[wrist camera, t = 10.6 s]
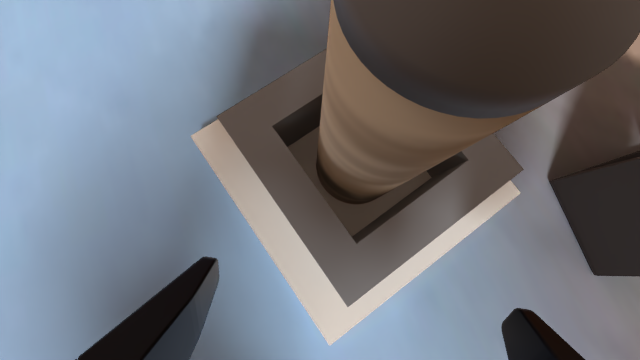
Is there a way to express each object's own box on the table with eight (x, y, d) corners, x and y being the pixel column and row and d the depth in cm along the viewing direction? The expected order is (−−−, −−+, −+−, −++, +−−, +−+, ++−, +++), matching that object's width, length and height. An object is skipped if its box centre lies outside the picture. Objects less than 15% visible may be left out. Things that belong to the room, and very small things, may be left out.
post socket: (328, 339, 16) (337, 384, 11) (196, 141, 18) (154, 105, 13) (509, 195, 18) (584, 180, 13) (373, 31, 20) (395, -36, 15)
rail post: (315, 203, 16) (335, 86, 4) (317, 127, 17) (339, -182, 4) (394, 205, 16) (684, 100, 4) (392, 129, 17) (622, -163, 5)
